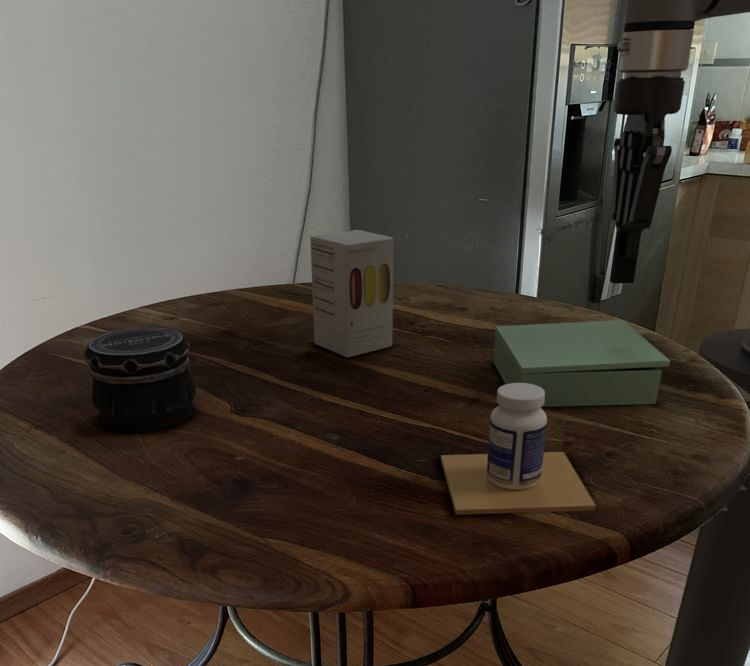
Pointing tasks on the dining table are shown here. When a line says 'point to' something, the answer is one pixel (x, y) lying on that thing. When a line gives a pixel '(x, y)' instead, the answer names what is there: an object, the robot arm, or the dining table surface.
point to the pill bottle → (517, 437)
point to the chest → (584, 383)
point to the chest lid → (578, 347)
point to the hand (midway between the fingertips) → (621, 281)
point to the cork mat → (483, 497)
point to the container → (141, 378)
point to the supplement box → (352, 291)
